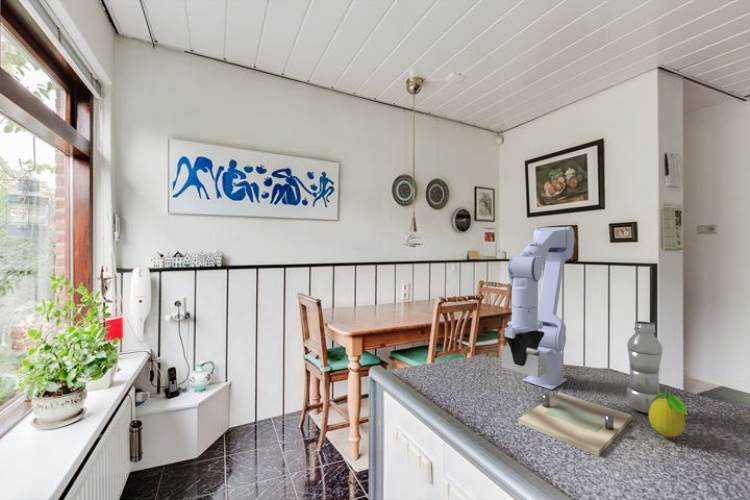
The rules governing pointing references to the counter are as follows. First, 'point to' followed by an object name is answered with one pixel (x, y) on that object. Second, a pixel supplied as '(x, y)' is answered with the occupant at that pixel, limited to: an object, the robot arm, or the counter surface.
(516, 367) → the block
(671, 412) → the lemon
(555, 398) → the pin tray
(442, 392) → the counter surface
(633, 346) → the plastic bottle
